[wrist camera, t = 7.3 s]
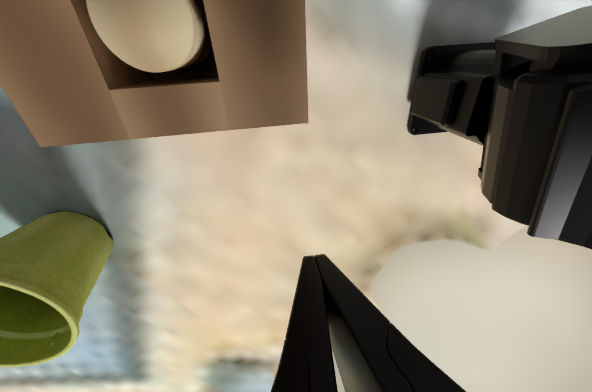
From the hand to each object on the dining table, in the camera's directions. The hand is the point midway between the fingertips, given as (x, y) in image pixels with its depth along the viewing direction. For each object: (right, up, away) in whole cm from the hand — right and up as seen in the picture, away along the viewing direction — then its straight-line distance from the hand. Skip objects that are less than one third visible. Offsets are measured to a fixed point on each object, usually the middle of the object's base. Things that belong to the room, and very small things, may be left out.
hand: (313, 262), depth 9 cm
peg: (-8, +13, +6) cm, 16 cm away
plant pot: (-21, -1, +13) cm, 25 cm away
